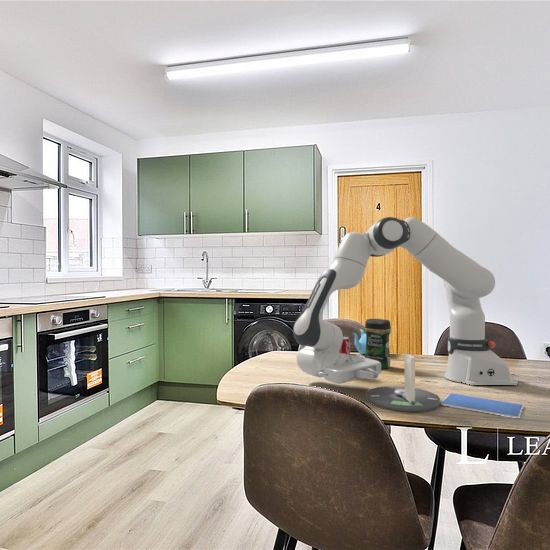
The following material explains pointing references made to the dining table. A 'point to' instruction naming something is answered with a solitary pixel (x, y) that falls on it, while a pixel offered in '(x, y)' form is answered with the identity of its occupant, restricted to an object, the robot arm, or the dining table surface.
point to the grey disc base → (402, 399)
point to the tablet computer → (483, 405)
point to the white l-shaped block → (408, 380)
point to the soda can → (345, 346)
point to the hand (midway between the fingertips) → (375, 375)
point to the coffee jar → (378, 341)
